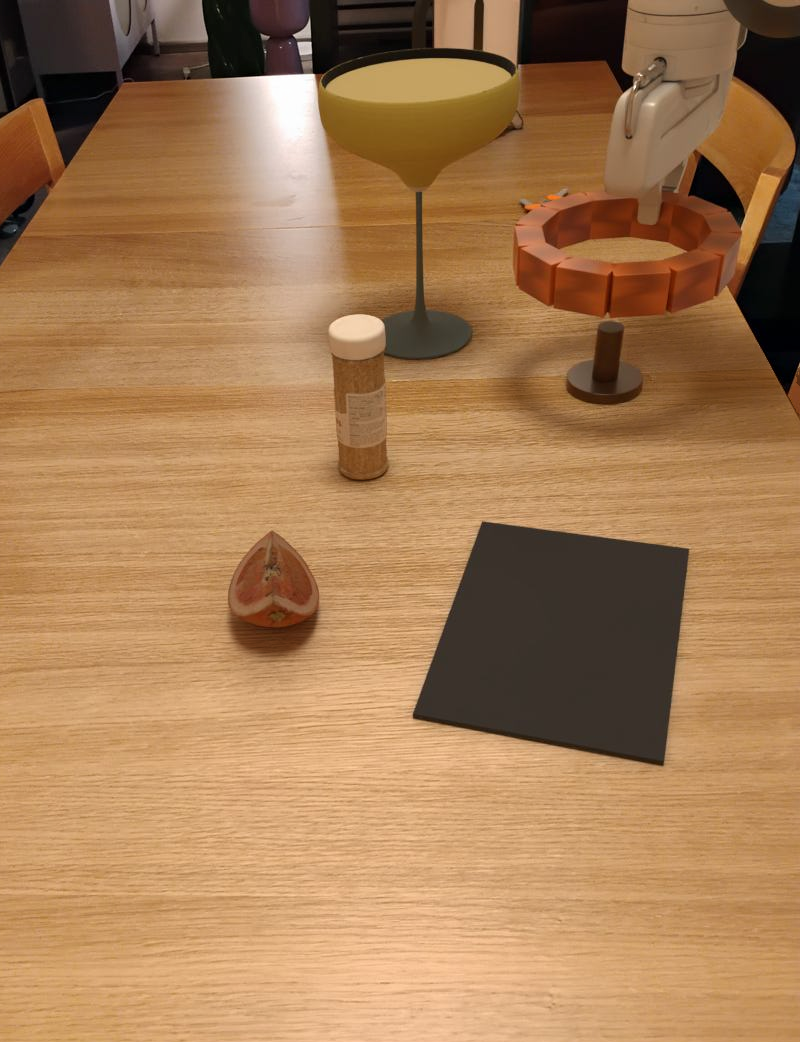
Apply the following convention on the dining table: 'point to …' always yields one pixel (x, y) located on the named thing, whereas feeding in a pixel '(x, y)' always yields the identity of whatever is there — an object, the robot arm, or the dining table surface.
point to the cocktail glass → (419, 145)
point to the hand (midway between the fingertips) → (656, 214)
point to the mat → (562, 641)
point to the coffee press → (471, 27)
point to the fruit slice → (273, 585)
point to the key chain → (531, 206)
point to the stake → (605, 370)
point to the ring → (631, 283)
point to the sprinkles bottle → (360, 394)
